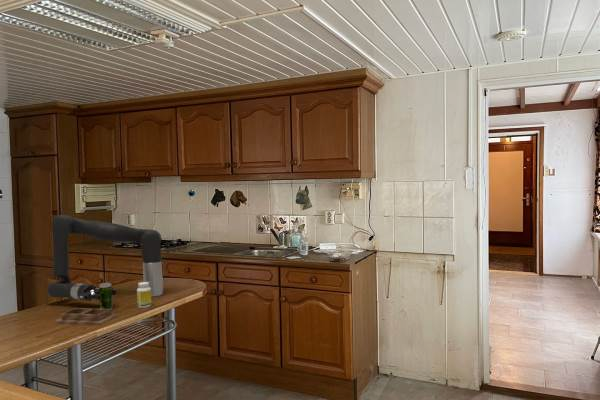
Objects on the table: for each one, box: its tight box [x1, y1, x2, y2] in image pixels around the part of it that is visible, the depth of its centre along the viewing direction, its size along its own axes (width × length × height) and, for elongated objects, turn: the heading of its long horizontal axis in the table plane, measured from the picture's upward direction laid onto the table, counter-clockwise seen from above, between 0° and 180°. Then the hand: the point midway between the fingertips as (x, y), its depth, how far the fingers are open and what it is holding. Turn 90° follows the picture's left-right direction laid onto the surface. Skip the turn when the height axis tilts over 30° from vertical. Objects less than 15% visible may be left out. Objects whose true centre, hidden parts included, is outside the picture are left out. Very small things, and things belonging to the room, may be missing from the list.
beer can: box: [98, 282, 114, 311], centre depth 203 cm, size 5×5×12 cm
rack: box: [54, 307, 118, 326], centre depth 189 cm, size 21×12×4 cm, turn 81°
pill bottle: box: [136, 281, 152, 309], centre depth 207 cm, size 6×6×11 cm
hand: (108, 295), depth 202 cm, fingers open, 8 cm apart
